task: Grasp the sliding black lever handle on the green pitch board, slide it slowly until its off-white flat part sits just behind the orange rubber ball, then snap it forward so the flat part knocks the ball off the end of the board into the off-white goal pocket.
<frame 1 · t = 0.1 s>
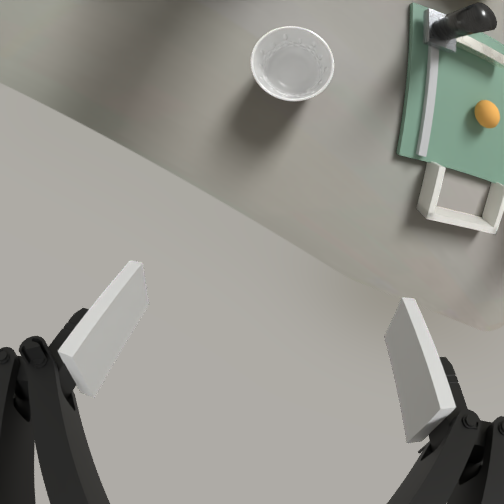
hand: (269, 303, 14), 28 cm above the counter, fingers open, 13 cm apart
black lever handle: (488, 40, 18), point 8 cm above the counter, slide at 0.0 cm
white cup: (292, 72, 32), on the counter
ball: (487, 114, 26), point 3 cm above the counter, touching pitch
goal: (459, 193, 36), on the counter
pitch: (476, 100, 28), on the counter
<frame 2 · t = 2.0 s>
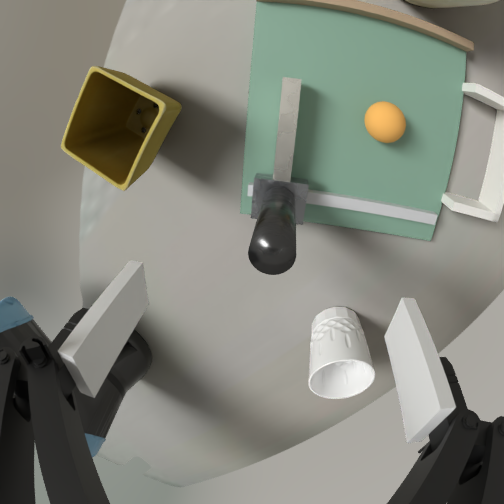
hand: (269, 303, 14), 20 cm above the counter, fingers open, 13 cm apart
black lever handle: (283, 159, 22), point 8 cm above the counter, slide at 0.0 cm
flower pot: (150, 117, 29), on the counter
white cup: (335, 323, 40), on the counter
ball: (385, 122, 23), point 3 cm above the counter, touching pitch
goal: (473, 149, 25), on the counter
pitch: (360, 116, 26), on the counter
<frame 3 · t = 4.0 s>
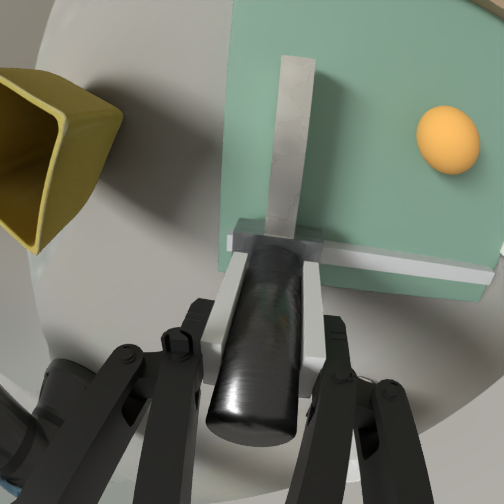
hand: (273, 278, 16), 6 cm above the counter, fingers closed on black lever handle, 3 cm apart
black lever handle: (281, 217, 11), point 8 cm above the counter, slide at 0.0 cm, touching gripper
flower pot: (90, 129, 19), on the counter
white cup: (345, 391, 29), on the counter
ball: (448, 139, 13), point 3 cm above the counter, touching pitch
pitch: (404, 125, 16), on the counter
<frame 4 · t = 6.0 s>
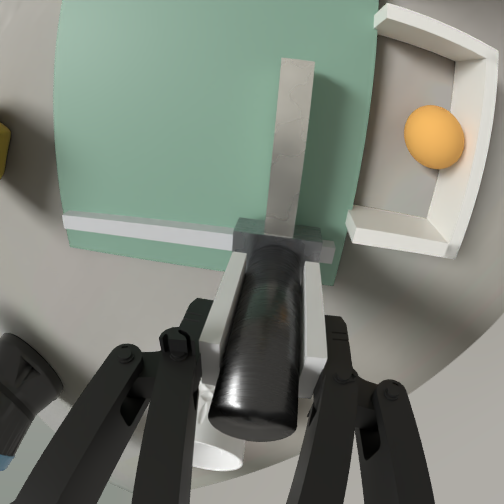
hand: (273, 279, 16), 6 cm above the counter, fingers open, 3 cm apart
black lever handle: (281, 216, 12), point 8 cm above the counter, slide at 13.9 cm
white cup: (220, 376, 31), on the counter
ball: (434, 137, 14), point 2 cm above the counter, tilted 6°, touching goal
goal: (412, 129, 16), on the counter
pitch: (189, 99, 17), on the counter
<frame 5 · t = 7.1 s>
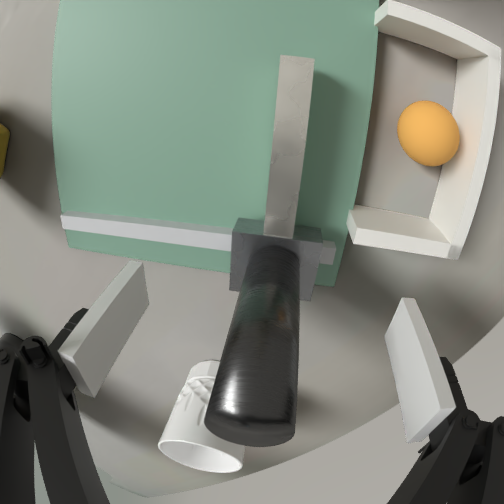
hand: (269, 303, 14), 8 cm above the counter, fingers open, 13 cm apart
black lever handle: (280, 217, 11), point 8 cm above the counter, slide at 13.9 cm
white cup: (221, 377, 30), on the counter
ball: (428, 133, 14), point 2 cm above the counter
goal: (414, 128, 16), on the counter
pitch: (188, 98, 17), on the counter
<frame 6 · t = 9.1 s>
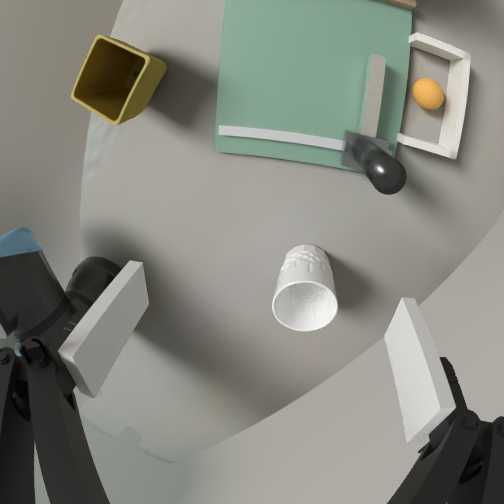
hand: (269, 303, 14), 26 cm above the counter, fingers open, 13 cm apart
black lever handle: (380, 114, 24), point 8 cm above the counter, slide at 13.9 cm
flower pot: (144, 77, 33), on the counter
white cup: (306, 263, 43), on the counter
ball: (428, 93, 27), point 2 cm above the counter, tilted 32°
goal: (427, 95, 28), on the counter
pitch: (314, 68, 30), on the counter
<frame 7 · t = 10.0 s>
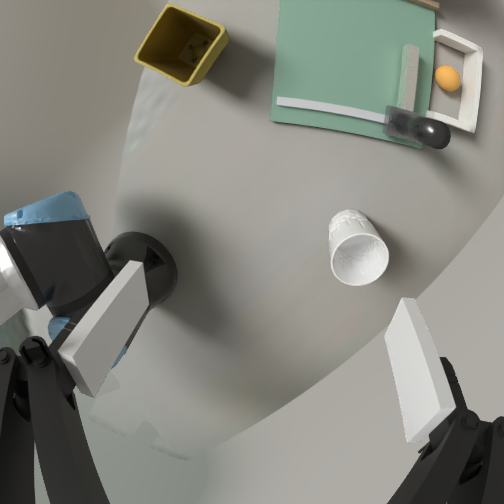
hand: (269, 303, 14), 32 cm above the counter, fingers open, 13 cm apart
black lever handle: (421, 91, 27), point 8 cm above the counter, slide at 13.9 cm
flower pot: (199, 52, 35), on the counter
white cup: (348, 228, 46), on the counter
ball: (447, 78, 29), point 2 cm above the counter, tilted 44°
goal: (448, 80, 31), on the counter
pitch: (358, 53, 32), on the counter
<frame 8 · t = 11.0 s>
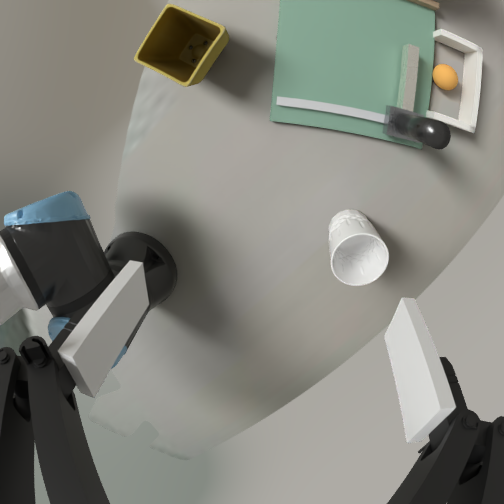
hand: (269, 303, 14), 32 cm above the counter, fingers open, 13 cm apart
black lever handle: (421, 90, 27), point 8 cm above the counter, slide at 13.9 cm
flower pot: (199, 52, 35), on the counter
white cup: (348, 228, 46), on the counter
ball: (445, 77, 29), point 2 cm above the counter, tilted 57°
goal: (448, 80, 31), on the counter
pitch: (357, 53, 32), on the counter
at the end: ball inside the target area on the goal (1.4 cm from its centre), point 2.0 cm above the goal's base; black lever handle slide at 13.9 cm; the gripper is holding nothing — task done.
